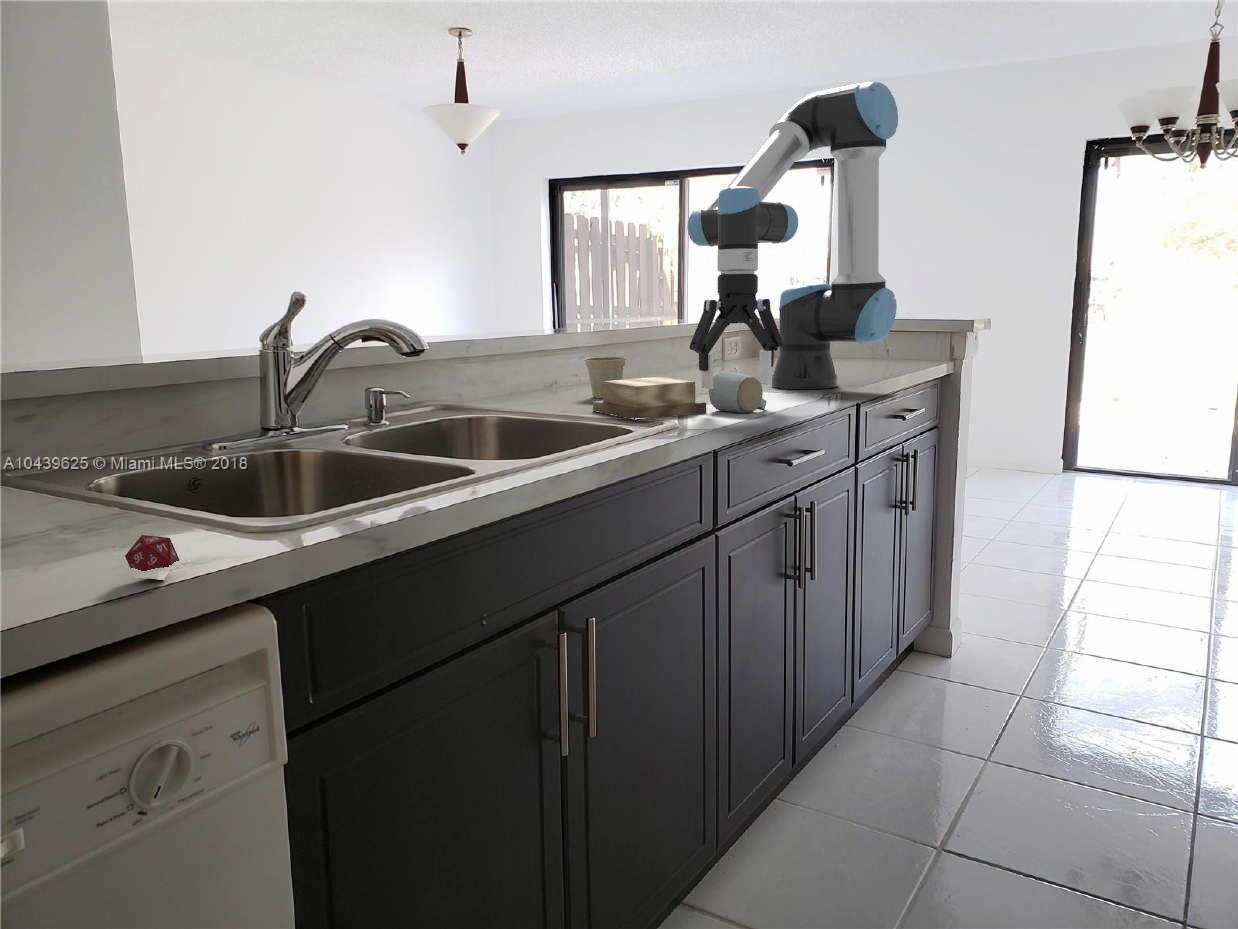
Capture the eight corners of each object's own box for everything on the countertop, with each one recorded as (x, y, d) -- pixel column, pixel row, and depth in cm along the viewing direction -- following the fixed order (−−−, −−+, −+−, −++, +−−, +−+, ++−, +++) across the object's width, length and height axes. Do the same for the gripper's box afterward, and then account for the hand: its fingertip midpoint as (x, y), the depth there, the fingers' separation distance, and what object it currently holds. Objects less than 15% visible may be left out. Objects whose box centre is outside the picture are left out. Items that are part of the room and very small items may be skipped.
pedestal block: (659, 396, 191) (658, 376, 190) (695, 402, 180) (695, 381, 179) (603, 401, 184) (602, 381, 184) (637, 408, 173) (636, 386, 173)
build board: (661, 404, 193) (661, 395, 193) (706, 412, 179) (706, 402, 179) (593, 411, 185) (592, 401, 185) (634, 420, 172) (634, 409, 171)
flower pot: (578, 399, 207) (577, 359, 205) (595, 394, 215) (594, 356, 214) (617, 400, 203) (616, 360, 202) (633, 395, 212) (632, 356, 210)
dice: (154, 589, 79) (148, 543, 79) (118, 583, 81) (112, 539, 80) (191, 576, 83) (186, 532, 82) (155, 571, 85) (150, 528, 84)
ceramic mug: (739, 415, 174) (739, 374, 173) (707, 411, 181) (708, 372, 179) (776, 411, 181) (777, 371, 180) (745, 407, 187) (745, 368, 186)
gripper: (693, 272, 166) (693, 391, 170) (802, 272, 178) (800, 383, 182) (670, 273, 173) (671, 388, 177) (777, 273, 185) (775, 381, 189)
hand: (736, 386), depth 179 cm, fingers open, 13 cm apart
